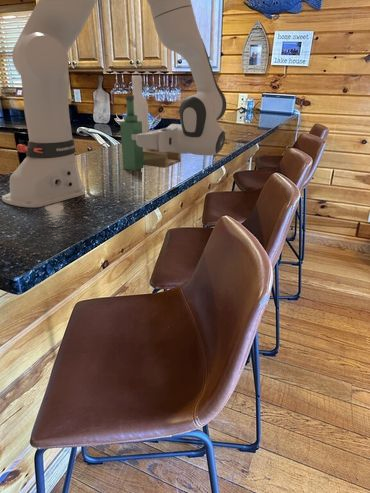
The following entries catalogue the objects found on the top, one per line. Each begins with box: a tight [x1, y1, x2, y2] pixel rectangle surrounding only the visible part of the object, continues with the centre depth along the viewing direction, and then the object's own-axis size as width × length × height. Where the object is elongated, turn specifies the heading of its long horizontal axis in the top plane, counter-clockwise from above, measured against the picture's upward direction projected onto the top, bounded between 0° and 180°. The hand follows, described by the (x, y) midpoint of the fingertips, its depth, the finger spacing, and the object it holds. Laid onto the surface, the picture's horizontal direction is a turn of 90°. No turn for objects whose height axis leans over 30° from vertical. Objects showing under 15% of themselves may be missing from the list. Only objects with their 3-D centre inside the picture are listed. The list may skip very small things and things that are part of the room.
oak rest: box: [143, 148, 182, 169], centre depth 136 cm, size 12×11×5 cm
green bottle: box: [120, 94, 145, 172], centre depth 124 cm, size 5×5×24 cm
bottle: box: [131, 75, 150, 150], centre depth 142 cm, size 8×8×30 cm
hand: (140, 134), depth 122 cm, fingers open, 8 cm apart
